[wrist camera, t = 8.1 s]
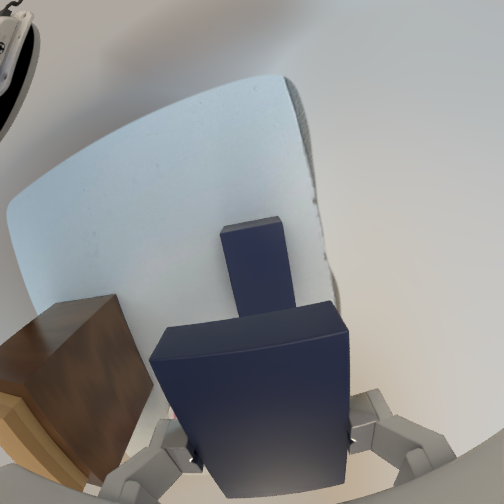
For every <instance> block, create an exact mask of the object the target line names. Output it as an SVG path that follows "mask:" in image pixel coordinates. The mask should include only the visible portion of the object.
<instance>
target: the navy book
mask: <svg viewBox="0 0 504 504" xmlns="http://www.w3.org/2000/svg"><path fill="white" fill-rule="evenodd" d="M349 350H350V347H349V330H348V328H347V327H346V325H345V323H344V322H343V320H342V318H341V316H340V315H339V313H338V311H337V310H336V308H335V306H334V305H333V303H332V302H331V301H325V302H321V303H316V304H311V305H306V306H301V307H296V308H291V309H285V310H280V311H274V312H269V313H263V314H257V315H252V316H245V317H239V318H233V319H226V320H220V321H213V322H206V323H199V324H191V325H183V326H175V327H168V328H166V330H165V332H164V334H163V335H162V337H161V339H160V341H159V343H158V344H157V346H156V348H155V350H154V351H153V353H152V355H151V357H150V359H149V362H150V364H151V366H152V369H153V371H154V373H155V375H156V377H157V380H158V382H159V384H160V386H161V388H162V390H163V392H164V394H165V396H166V398H167V400H168V402H169V404H170V406H171V408H172V410H173V412H174V414H175V416H176V418H177V419H178V421H179V423H180V425H181V427H182V429H183V430H184V432H185V434H186V436H187V437H188V438H189V440H190V441H191V443H192V445H193V446H194V448H195V451H196V453H197V454H198V455H199V456H200V458H201V459H202V461H203V463H204V465H205V467H206V468H207V470H208V471H209V473H210V474H211V476H212V477H213V478H214V480H215V482H216V483H217V485H218V486H219V488H220V489H221V490H222V492H223V493H224V495H225V496H226V497H227V498H253V497H267V496H277V495H286V494H293V493H300V492H305V491H312V490H317V489H322V488H327V487H331V486H336V485H340V484H343V483H344V481H345V472H346V462H347V461H346V460H347V449H348V448H347V435H348V433H349V432H348V430H347V426H348V417H349V410H350V351H349Z"/></svg>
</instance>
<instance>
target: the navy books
mask: <svg viewBox="0 0 504 504" xmlns="http://www.w3.org/2000/svg"><path fill="white" fill-rule="evenodd" d="M220 237H221V242H222V246H223V251H224V255H225V259H226V264H227V268H228V272H229V277H230V281H231V285H232V289H233V294H234V298H235V302H236V306H237V310H238V314H239V317H245V316H252V315H257V314H263V313H269V312H274V311H280V310H285V309H291V308H296V303H295V297H294V291H293V284H292V278H291V272H290V266H289V260H288V254H287V248H286V242H285V236H284V231H283V225H282V221H281V220H280V218H279V217H278V216H275V217H270V218H264V219H259V220H254V221H249V222H244V223H239V224H233V225H228V226H224V228H223V230H222V231H221V233H220Z"/></svg>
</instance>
